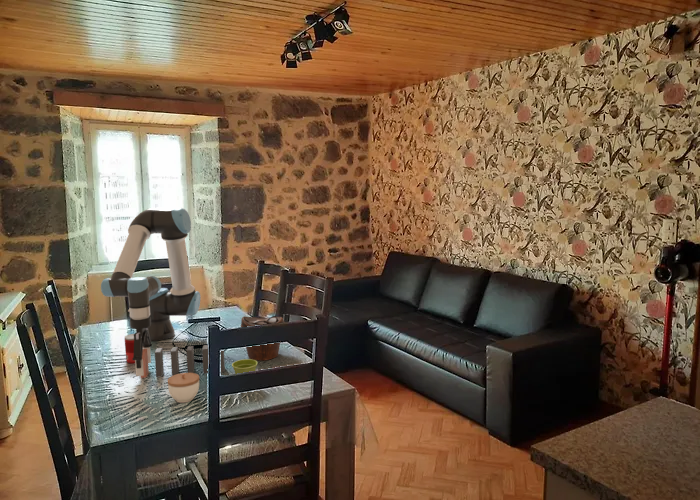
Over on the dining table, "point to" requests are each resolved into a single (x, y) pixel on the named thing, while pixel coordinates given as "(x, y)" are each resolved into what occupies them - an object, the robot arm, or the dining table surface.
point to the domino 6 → (222, 361)
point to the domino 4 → (190, 359)
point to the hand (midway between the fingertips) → (143, 369)
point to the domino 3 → (174, 361)
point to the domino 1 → (145, 363)
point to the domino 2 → (159, 362)
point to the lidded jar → (183, 386)
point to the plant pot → (244, 365)
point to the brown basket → (263, 350)
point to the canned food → (130, 348)
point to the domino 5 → (205, 358)
